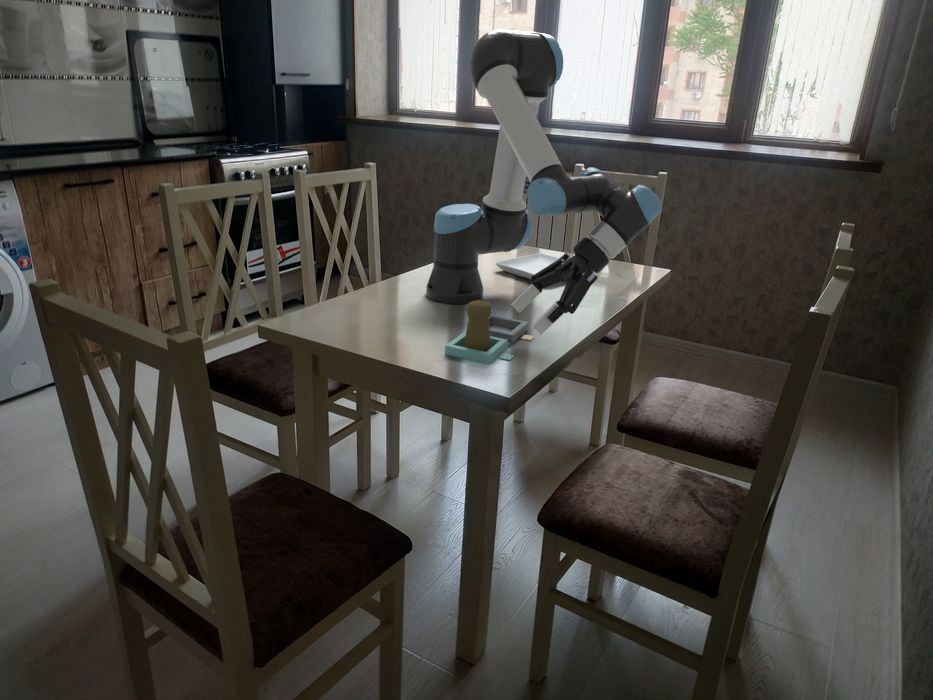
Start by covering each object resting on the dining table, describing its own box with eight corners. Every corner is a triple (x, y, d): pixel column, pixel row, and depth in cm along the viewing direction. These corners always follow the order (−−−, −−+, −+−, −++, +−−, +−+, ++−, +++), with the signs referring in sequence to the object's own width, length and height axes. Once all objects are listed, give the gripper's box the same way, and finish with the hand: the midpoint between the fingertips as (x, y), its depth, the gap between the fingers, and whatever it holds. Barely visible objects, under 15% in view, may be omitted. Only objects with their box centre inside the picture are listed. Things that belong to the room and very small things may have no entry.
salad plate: (492, 272, 201) (493, 261, 199) (539, 262, 214) (540, 251, 213) (545, 289, 186) (546, 277, 185) (592, 277, 200) (593, 266, 199)
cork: (484, 344, 145) (487, 296, 140) (495, 355, 139) (498, 305, 135) (458, 347, 142) (460, 298, 138) (469, 358, 137) (471, 307, 133)
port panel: (444, 354, 138) (445, 345, 138) (488, 322, 158) (488, 314, 157) (502, 367, 134) (503, 358, 133) (540, 332, 153) (540, 324, 152)
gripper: (636, 276, 130) (557, 352, 131) (584, 246, 152) (517, 311, 154) (615, 250, 126) (534, 328, 128) (564, 223, 148) (496, 290, 150)
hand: (525, 319), depth 141 cm, fingers open, 13 cm apart
